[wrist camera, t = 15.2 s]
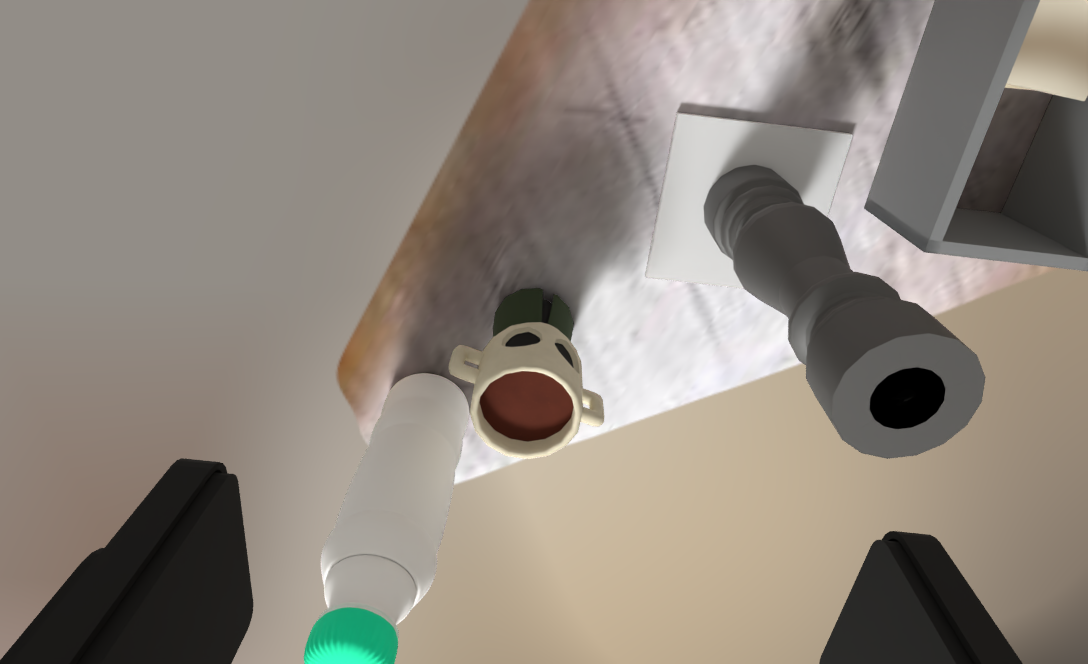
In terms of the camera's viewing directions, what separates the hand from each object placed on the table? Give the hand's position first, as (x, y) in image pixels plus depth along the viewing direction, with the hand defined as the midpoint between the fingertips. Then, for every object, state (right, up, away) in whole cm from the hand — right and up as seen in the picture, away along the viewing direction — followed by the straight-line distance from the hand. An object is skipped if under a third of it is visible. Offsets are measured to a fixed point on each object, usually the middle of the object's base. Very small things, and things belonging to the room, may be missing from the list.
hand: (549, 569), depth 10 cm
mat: (+14, +13, +39) cm, 43 cm away
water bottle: (-10, -3, +47) cm, 48 cm away
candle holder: (+14, +13, +38) cm, 43 cm away
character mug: (-1, +4, +43) cm, 44 cm away
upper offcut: (+30, +22, +31) cm, 48 cm away
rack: (+29, +19, +35) cm, 49 cm away
